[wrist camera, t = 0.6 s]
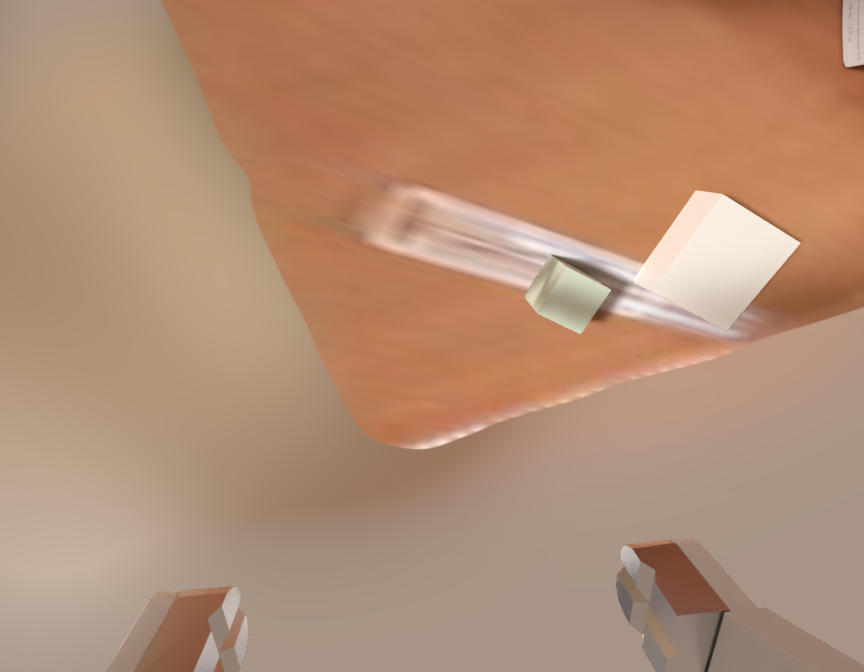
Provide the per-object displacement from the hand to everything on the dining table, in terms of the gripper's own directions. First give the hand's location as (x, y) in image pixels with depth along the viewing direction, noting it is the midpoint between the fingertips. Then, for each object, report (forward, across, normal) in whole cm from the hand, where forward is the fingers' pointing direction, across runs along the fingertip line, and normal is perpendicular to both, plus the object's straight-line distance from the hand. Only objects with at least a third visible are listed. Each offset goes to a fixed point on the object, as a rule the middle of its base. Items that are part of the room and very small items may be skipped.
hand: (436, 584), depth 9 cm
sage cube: (+34, -16, +2) cm, 38 cm away
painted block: (+34, -31, 0) cm, 46 cm away
